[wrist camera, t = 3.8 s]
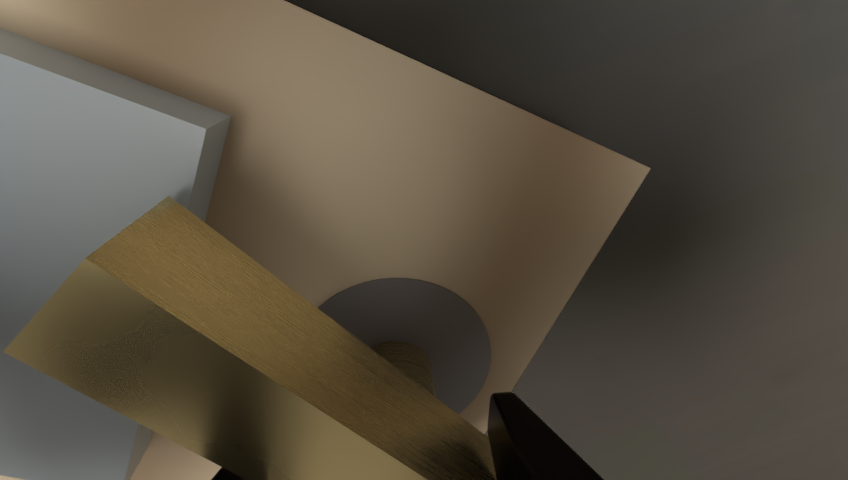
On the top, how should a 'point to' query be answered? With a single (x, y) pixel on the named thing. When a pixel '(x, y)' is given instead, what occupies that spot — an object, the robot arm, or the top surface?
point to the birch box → (367, 183)
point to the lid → (80, 230)
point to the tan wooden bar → (242, 364)
